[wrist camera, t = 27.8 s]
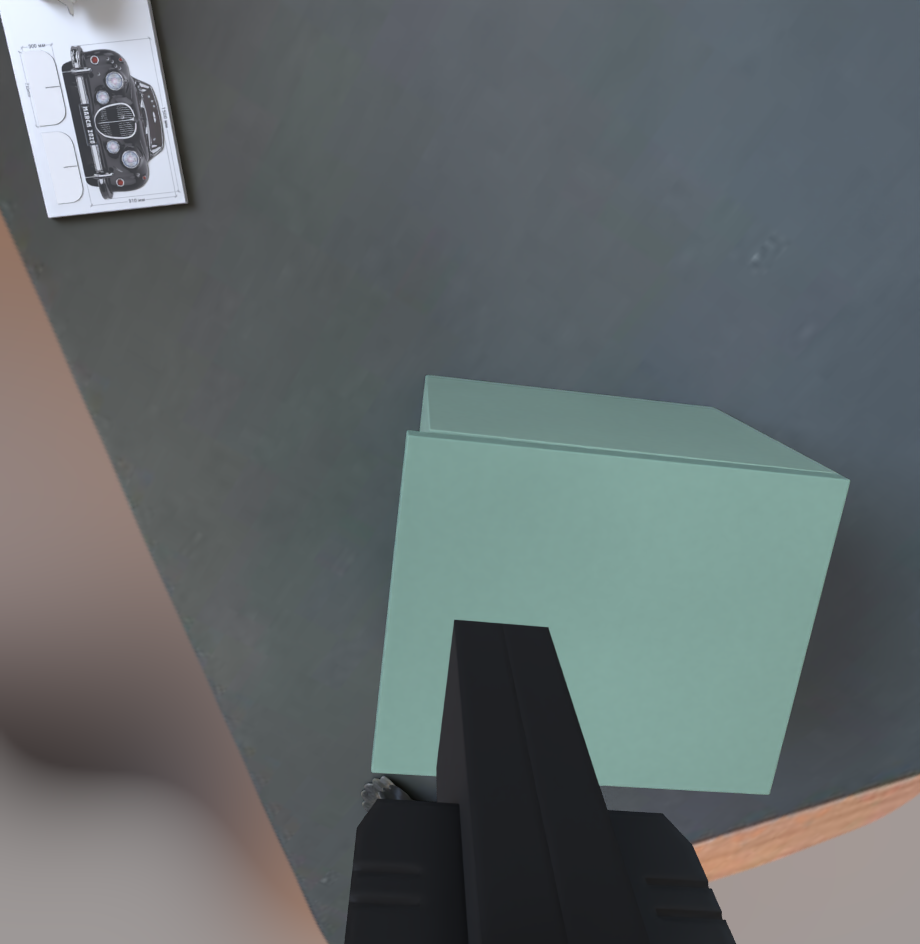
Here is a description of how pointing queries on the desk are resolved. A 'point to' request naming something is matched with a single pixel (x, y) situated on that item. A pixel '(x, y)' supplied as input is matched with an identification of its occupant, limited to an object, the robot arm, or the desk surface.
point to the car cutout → (94, 104)
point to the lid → (612, 599)
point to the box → (599, 423)
